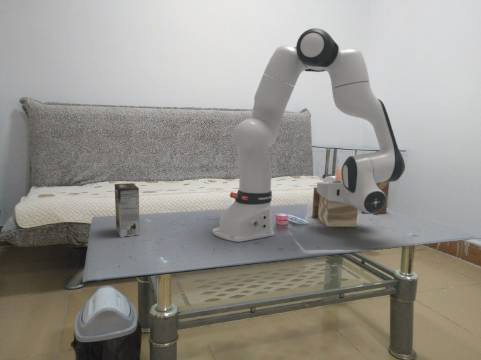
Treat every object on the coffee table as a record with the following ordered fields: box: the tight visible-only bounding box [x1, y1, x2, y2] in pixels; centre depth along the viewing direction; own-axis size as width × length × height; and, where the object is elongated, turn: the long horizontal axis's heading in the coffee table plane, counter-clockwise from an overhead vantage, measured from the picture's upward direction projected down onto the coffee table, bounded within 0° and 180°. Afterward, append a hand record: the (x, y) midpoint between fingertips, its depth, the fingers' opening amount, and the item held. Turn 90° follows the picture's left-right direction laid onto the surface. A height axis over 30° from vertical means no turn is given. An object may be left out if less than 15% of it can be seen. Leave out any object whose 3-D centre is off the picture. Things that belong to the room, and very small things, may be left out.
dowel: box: [334, 168, 342, 181], centre depth 136 cm, size 3×3×14 cm
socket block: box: [317, 194, 359, 228], centre depth 137 cm, size 11×11×10 cm
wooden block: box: [361, 182, 390, 215], centre depth 157 cm, size 4×11×18 cm, turn 114°
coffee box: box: [114, 183, 140, 238], centre depth 121 cm, size 9×6×16 cm
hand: (338, 184), depth 137 cm, fingers closed on dowel, 3 cm apart
